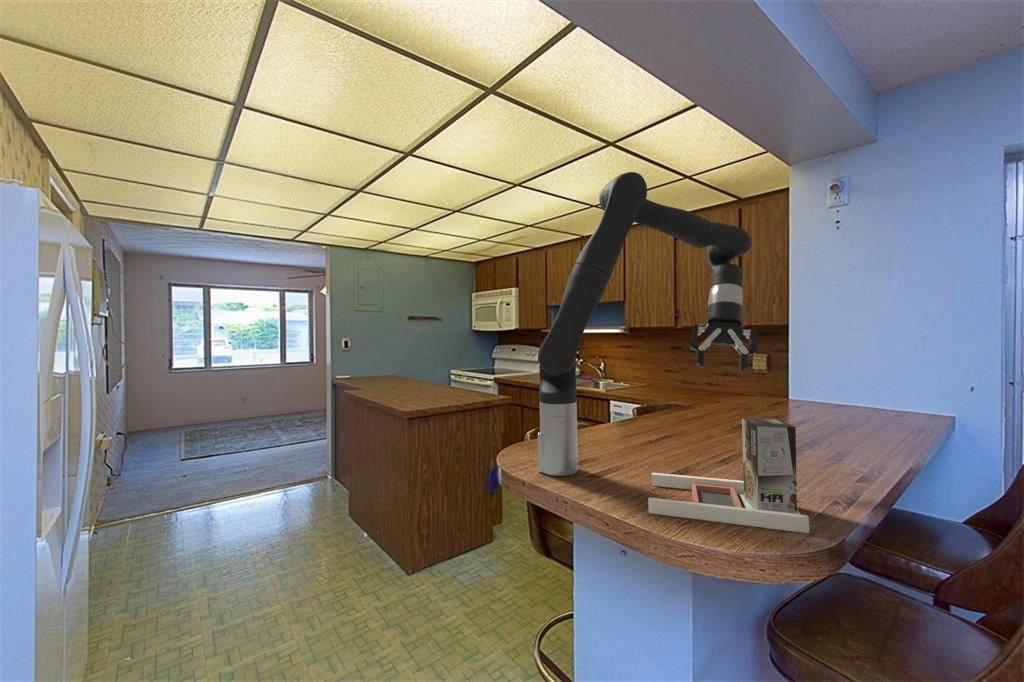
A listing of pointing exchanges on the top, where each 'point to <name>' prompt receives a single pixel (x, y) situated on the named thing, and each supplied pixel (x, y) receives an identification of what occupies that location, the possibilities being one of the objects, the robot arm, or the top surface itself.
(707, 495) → the frame
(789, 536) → the top surface
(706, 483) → the walled lane
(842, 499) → the top surface
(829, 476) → the top surface
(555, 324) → the robot arm
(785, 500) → the coffee box
